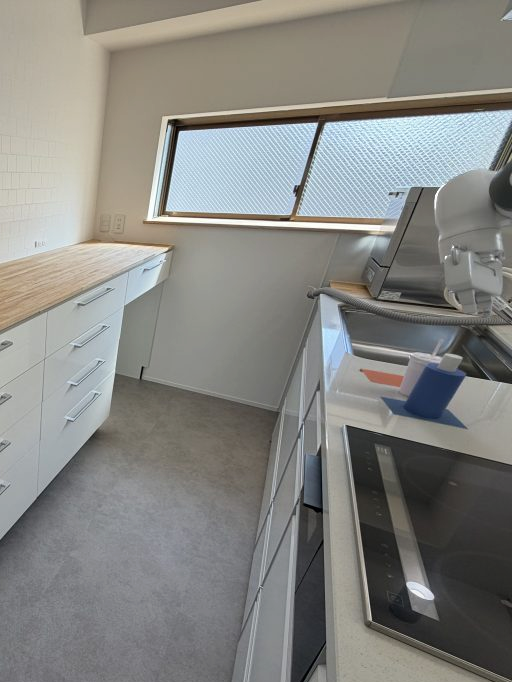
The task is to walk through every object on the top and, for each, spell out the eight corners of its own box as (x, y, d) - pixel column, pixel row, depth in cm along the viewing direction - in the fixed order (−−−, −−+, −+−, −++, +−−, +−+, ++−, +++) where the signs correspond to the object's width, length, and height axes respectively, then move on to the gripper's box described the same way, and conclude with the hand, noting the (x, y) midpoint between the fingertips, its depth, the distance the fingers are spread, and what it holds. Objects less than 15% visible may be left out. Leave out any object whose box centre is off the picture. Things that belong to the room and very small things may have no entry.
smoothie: (434, 402, 94) (468, 345, 87) (406, 401, 93) (438, 344, 87) (410, 389, 99) (440, 334, 93) (383, 388, 99) (412, 333, 93)
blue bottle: (433, 408, 90) (466, 353, 84) (445, 421, 85) (481, 364, 79) (398, 402, 92) (428, 348, 86) (409, 414, 87) (441, 357, 81)
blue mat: (446, 411, 90) (448, 409, 90) (467, 431, 83) (468, 429, 83) (379, 398, 94) (380, 396, 94) (392, 415, 87) (393, 413, 87)
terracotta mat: (422, 381, 104) (423, 379, 104) (437, 395, 97) (438, 393, 97) (359, 370, 109) (360, 368, 109) (369, 383, 102) (370, 381, 101)
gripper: (475, 236, 79) (484, 306, 78) (507, 252, 89) (515, 315, 88) (430, 248, 85) (437, 314, 84) (464, 262, 94) (471, 322, 93)
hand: (478, 315), depth 86 cm, fingers open, 8 cm apart
